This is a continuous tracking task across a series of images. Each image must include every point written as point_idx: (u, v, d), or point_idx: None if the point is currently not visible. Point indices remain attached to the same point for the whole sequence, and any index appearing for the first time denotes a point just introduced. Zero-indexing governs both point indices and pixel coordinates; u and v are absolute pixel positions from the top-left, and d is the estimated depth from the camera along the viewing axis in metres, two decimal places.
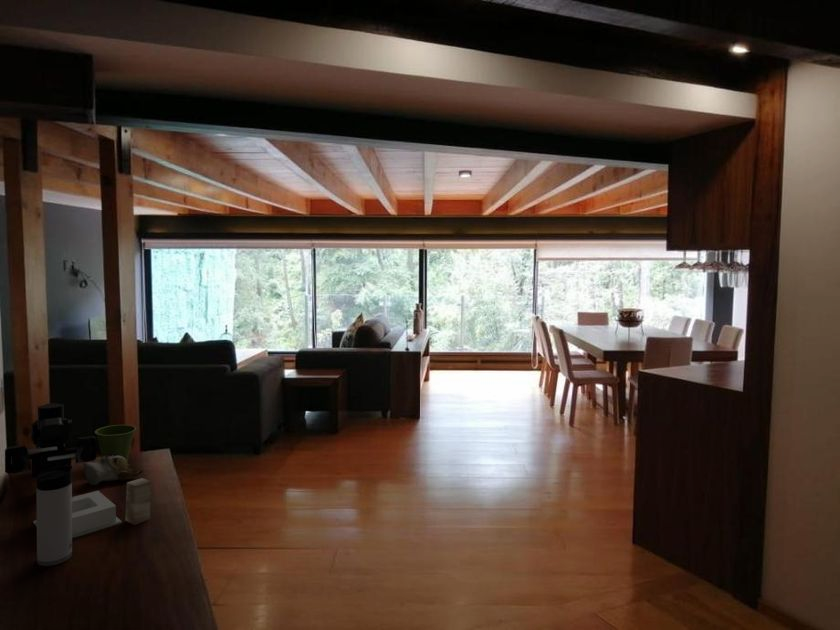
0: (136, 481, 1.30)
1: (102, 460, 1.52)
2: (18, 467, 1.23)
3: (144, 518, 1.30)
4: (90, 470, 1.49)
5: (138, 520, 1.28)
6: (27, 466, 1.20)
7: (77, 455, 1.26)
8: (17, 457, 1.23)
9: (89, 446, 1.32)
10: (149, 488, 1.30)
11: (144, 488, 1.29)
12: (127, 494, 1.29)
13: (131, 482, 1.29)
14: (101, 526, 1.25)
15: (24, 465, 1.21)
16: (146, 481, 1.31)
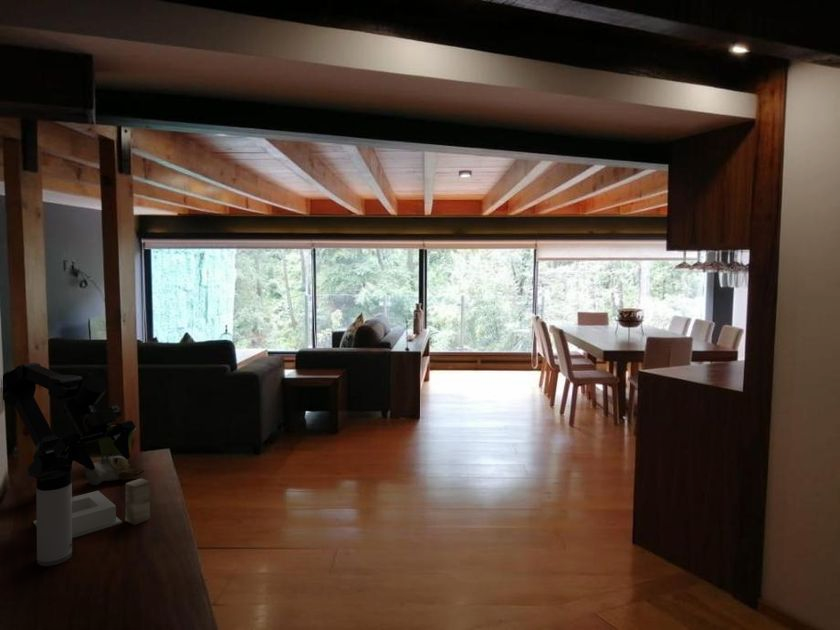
0: (135, 482, 1.30)
1: (103, 460, 1.52)
2: (70, 454, 1.27)
3: (144, 518, 1.30)
4: (91, 471, 1.49)
5: (138, 520, 1.28)
6: (89, 466, 1.27)
7: (127, 451, 1.36)
8: (74, 449, 1.27)
9: (129, 433, 1.40)
10: (148, 488, 1.30)
11: (143, 488, 1.29)
12: (126, 495, 1.29)
13: (130, 483, 1.29)
14: (101, 526, 1.25)
15: (84, 461, 1.27)
16: (145, 481, 1.30)
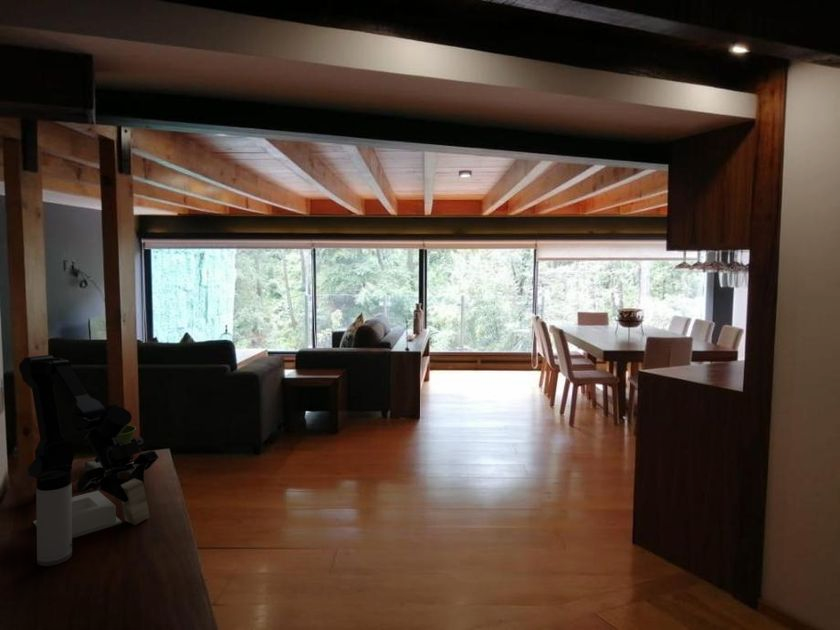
0: (128, 483, 1.28)
1: None
2: (103, 486, 1.26)
3: (143, 517, 1.30)
4: (90, 469, 1.49)
5: (137, 520, 1.28)
6: (122, 498, 1.26)
7: None
8: (107, 480, 1.25)
9: (145, 467, 1.35)
10: (142, 488, 1.29)
11: (137, 489, 1.28)
12: None
13: (123, 485, 1.28)
14: (101, 526, 1.25)
15: (117, 493, 1.26)
16: (138, 482, 1.29)
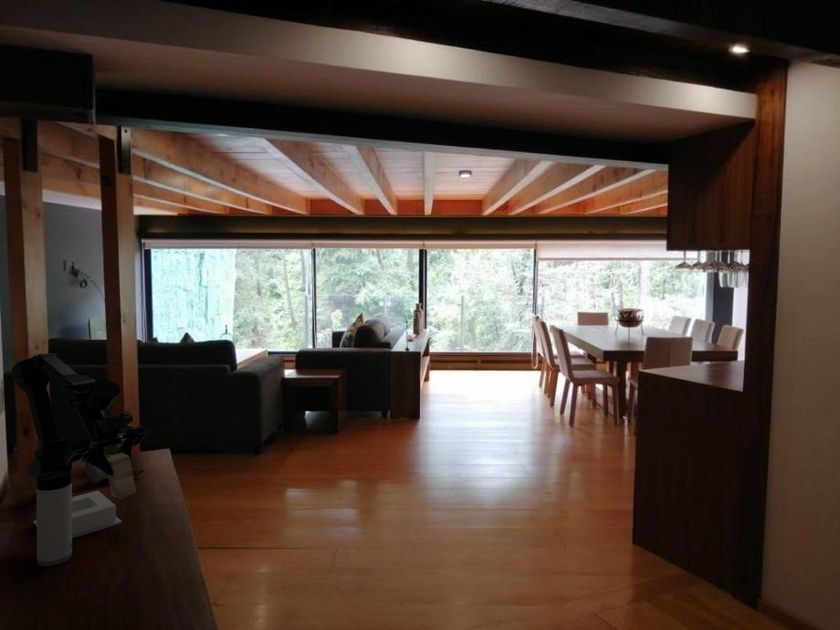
0: (114, 457, 1.27)
1: None
2: (89, 459, 1.25)
3: (129, 491, 1.28)
4: (90, 469, 1.50)
5: (123, 494, 1.27)
6: (108, 471, 1.25)
7: None
8: (92, 453, 1.24)
9: (133, 442, 1.33)
10: (129, 463, 1.27)
11: (123, 463, 1.26)
12: None
13: (109, 458, 1.26)
14: (101, 526, 1.25)
15: (102, 466, 1.25)
16: (124, 456, 1.27)
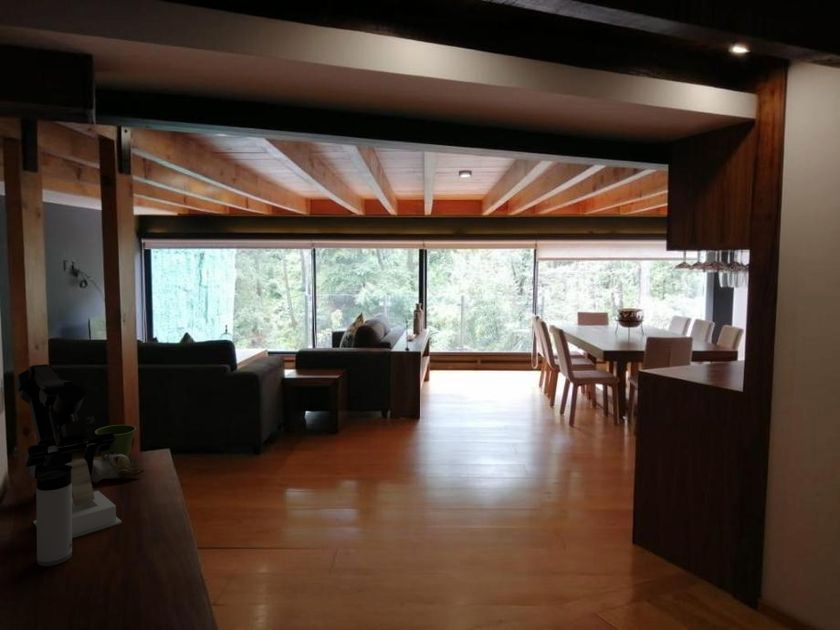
0: (73, 463, 1.26)
1: (104, 458, 1.54)
2: (50, 463, 1.26)
3: (87, 499, 1.26)
4: None
5: (79, 501, 1.25)
6: None
7: (90, 468, 1.28)
8: (52, 457, 1.24)
9: (99, 448, 1.32)
10: (86, 469, 1.26)
11: (79, 469, 1.25)
12: None
13: (68, 464, 1.26)
14: (101, 526, 1.25)
15: None
16: (83, 462, 1.26)
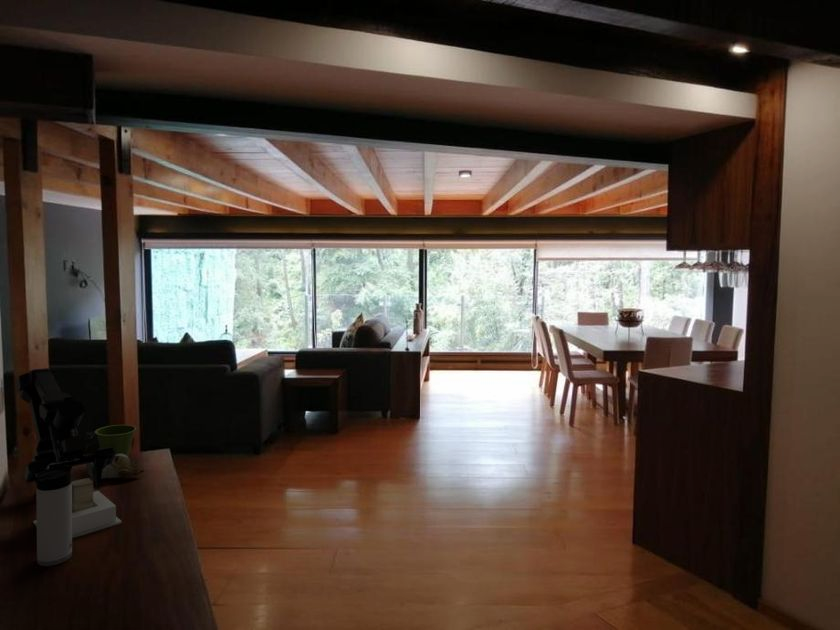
0: (79, 481, 1.27)
1: None
2: None
3: None
4: (91, 467, 1.51)
5: None
6: None
7: (99, 481, 1.30)
8: None
9: (107, 461, 1.34)
10: (91, 489, 1.27)
11: (85, 489, 1.26)
12: None
13: (74, 482, 1.27)
14: (101, 526, 1.25)
15: None
16: (89, 481, 1.27)
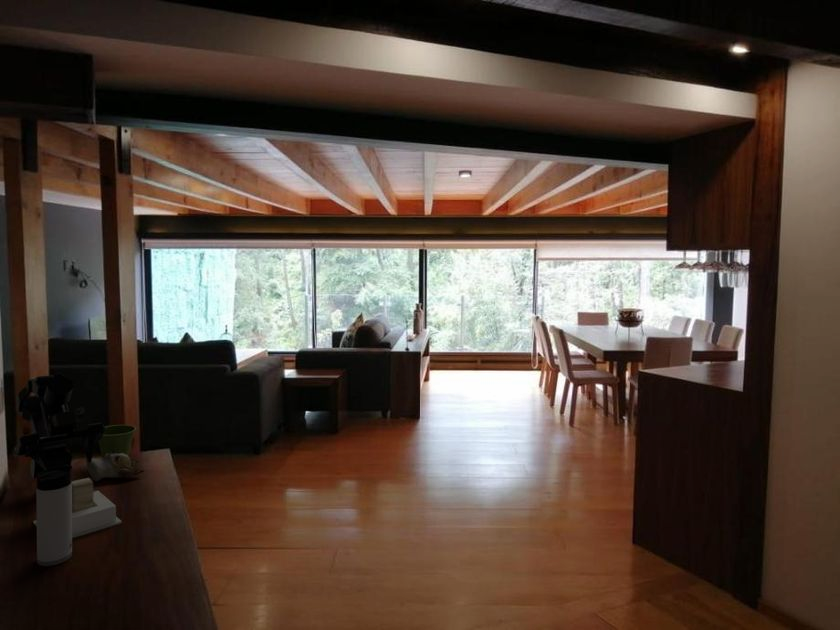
0: (79, 481, 1.27)
1: (105, 457, 1.55)
2: (31, 454, 1.29)
3: None
4: (91, 466, 1.52)
5: None
6: (45, 467, 1.27)
7: (90, 455, 1.34)
8: (32, 449, 1.27)
9: (98, 436, 1.38)
10: (91, 489, 1.27)
11: (85, 489, 1.26)
12: None
13: (74, 482, 1.27)
14: (101, 526, 1.25)
15: (41, 462, 1.27)
16: (89, 481, 1.27)
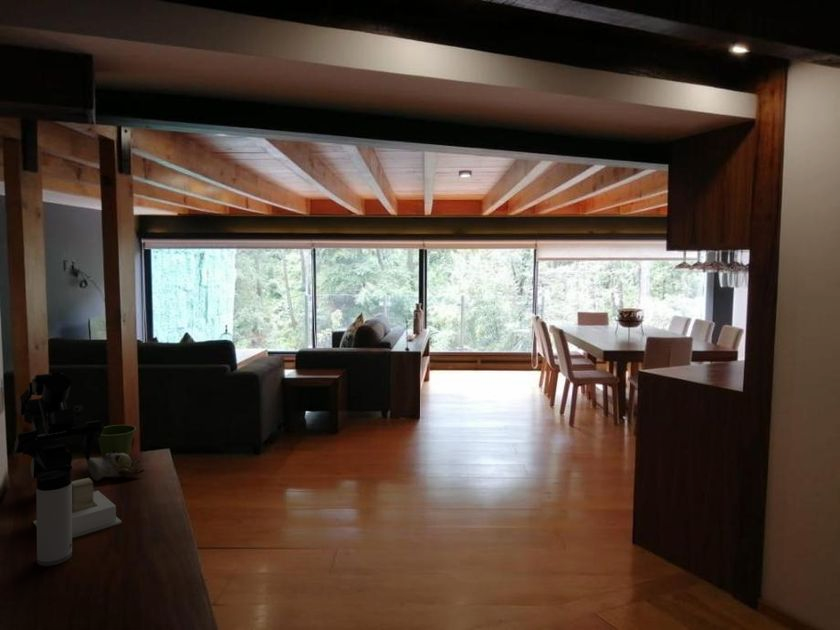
0: (79, 481, 1.27)
1: (105, 456, 1.55)
2: (29, 451, 1.29)
3: None
4: (91, 466, 1.52)
5: None
6: (43, 464, 1.27)
7: (88, 452, 1.35)
8: (30, 446, 1.28)
9: (96, 434, 1.39)
10: (91, 489, 1.27)
11: (85, 489, 1.26)
12: None
13: (74, 482, 1.27)
14: (101, 526, 1.25)
15: (39, 459, 1.28)
16: (89, 481, 1.27)
